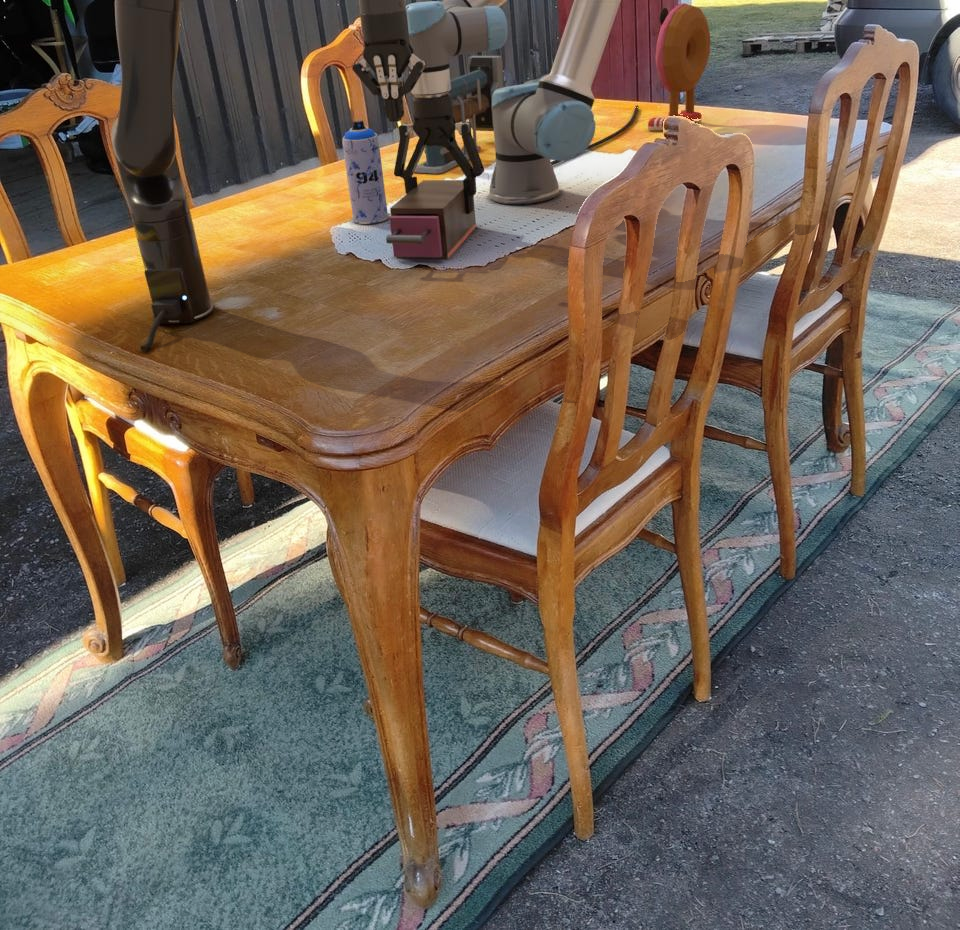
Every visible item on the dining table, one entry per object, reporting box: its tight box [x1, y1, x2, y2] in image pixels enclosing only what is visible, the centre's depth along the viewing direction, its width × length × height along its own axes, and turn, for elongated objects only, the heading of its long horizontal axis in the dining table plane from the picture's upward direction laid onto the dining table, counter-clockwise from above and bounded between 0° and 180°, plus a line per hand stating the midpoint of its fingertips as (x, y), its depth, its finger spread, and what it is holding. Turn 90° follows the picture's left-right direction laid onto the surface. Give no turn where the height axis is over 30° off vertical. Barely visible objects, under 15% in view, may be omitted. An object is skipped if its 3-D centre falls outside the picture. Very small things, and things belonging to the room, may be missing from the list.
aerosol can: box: [342, 120, 390, 225], centre depth 201 cm, size 8×8×20 cm
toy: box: [647, 2, 711, 131], centre depth 254 cm, size 21×10×30 cm, turn 141°
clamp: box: [414, 55, 504, 175], centre depth 244 cm, size 35×9×21 cm, turn 151°
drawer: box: [385, 214, 442, 258], centre depth 182 cm, size 24×9×7 cm, turn 164°
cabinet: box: [389, 179, 477, 260], centre depth 187 cm, size 19×10×10 cm, turn 164°
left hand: (395, 120), depth 164 cm, fingers closed
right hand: (442, 211), depth 191 cm, fingers closed on cabinet, 10 cm apart
